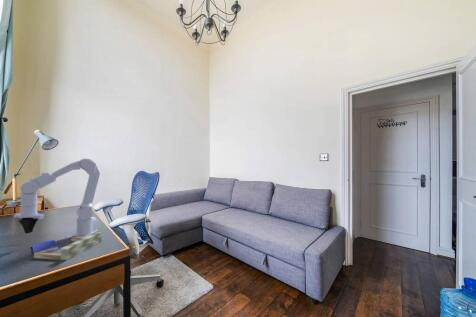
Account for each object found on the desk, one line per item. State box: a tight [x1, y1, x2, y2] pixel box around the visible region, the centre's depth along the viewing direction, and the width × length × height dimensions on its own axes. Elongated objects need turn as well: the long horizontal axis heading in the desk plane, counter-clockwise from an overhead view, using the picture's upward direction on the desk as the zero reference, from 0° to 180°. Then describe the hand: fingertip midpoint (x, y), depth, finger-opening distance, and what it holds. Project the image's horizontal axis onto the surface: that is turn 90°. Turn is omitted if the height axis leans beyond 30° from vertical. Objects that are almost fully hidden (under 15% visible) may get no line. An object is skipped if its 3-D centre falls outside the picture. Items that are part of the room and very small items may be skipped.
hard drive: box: [32, 239, 59, 255], centre depth 96 cm, size 2×8×12 cm
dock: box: [33, 231, 102, 261], centre depth 95 cm, size 19×16×5 cm
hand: (28, 232), depth 97 cm, fingers closed
